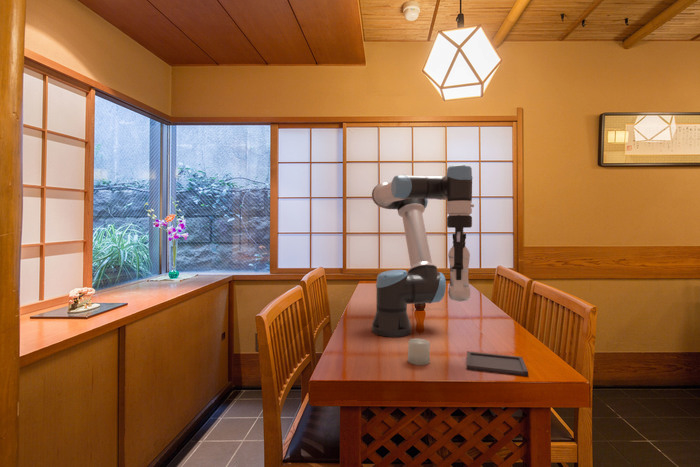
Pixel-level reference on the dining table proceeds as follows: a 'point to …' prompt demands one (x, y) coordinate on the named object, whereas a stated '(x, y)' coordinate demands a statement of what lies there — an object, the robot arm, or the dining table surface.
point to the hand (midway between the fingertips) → (459, 288)
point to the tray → (496, 363)
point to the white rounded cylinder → (418, 351)
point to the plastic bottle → (465, 293)
